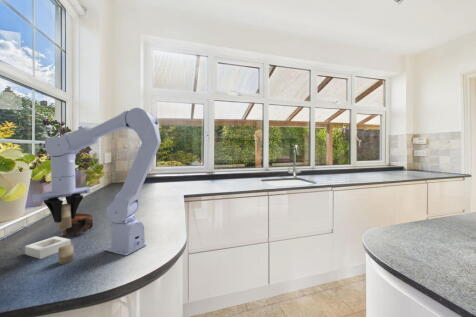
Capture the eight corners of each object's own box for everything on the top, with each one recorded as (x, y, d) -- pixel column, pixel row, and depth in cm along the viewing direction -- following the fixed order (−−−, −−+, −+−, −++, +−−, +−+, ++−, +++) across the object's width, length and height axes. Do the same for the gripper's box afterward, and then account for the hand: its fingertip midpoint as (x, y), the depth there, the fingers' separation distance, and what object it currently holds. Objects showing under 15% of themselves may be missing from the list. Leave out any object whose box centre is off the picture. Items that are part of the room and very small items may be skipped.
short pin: (76, 259, 60) (75, 245, 60) (63, 265, 57) (62, 250, 57) (69, 257, 61) (68, 243, 61) (56, 262, 58) (55, 248, 58)
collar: (71, 247, 68) (70, 239, 68) (40, 259, 61) (39, 250, 61) (56, 243, 71) (56, 236, 71) (25, 254, 64) (24, 246, 64)
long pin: (73, 226, 67) (73, 204, 66) (62, 229, 64) (61, 206, 63) (67, 225, 68) (66, 203, 68) (55, 228, 65) (55, 205, 65)
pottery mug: (54, 237, 78) (62, 214, 82) (80, 239, 86) (86, 219, 90) (76, 232, 74) (82, 209, 78) (101, 235, 82) (106, 214, 86)
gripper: (80, 173, 73) (81, 212, 74) (25, 178, 60) (27, 226, 60) (93, 174, 71) (94, 214, 71) (39, 179, 57) (41, 229, 58)
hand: (64, 220), depth 66 cm, fingers closed on long pin, 3 cm apart
